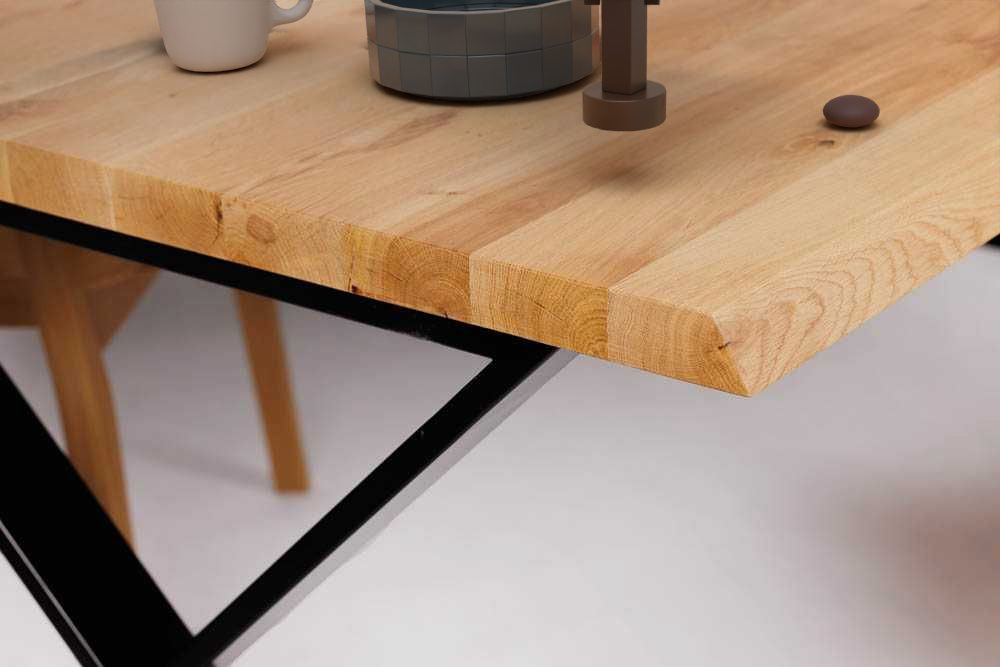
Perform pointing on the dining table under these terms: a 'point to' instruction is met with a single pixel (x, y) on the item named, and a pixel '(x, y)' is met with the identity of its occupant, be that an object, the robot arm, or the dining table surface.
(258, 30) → the cup
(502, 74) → the bowl
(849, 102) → the chocolate truffle
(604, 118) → the stir stick
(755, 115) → the dining table surface
